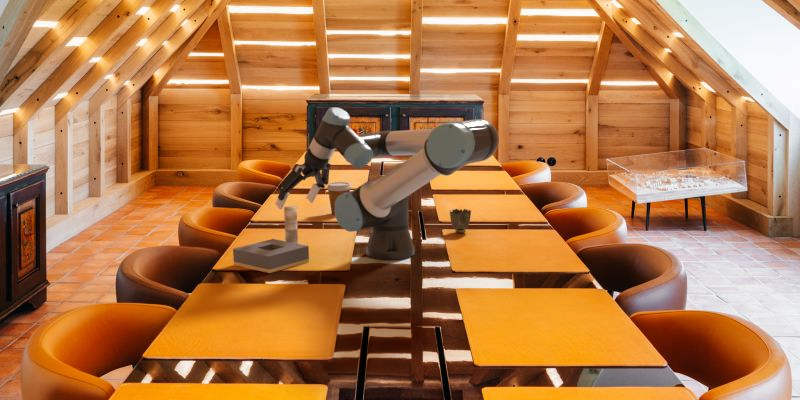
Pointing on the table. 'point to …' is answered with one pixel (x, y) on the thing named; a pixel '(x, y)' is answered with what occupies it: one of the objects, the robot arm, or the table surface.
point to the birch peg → (291, 224)
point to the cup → (460, 220)
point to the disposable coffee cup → (337, 192)
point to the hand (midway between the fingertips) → (294, 203)
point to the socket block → (271, 255)
